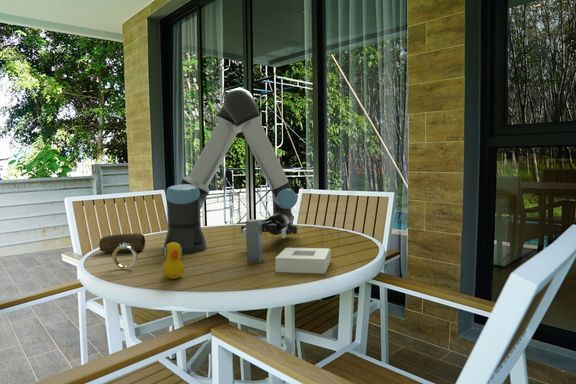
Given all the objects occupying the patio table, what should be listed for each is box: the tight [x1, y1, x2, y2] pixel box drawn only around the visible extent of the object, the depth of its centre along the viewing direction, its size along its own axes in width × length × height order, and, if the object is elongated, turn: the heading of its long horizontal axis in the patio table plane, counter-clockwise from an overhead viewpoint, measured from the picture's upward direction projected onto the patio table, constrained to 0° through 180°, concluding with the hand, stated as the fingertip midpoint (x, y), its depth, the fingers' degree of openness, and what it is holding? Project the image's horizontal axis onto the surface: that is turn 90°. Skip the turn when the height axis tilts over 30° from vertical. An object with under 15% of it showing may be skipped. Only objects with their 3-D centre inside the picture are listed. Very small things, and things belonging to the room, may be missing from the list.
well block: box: [274, 247, 331, 274], centre depth 121 cm, size 14×14×4 cm
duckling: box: [162, 242, 185, 280], centre depth 112 cm, size 11×5×10 cm, turn 22°
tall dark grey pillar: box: [245, 219, 264, 264], centre depth 129 cm, size 4×4×13 cm
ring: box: [111, 243, 138, 270], centre depth 122 cm, size 7×3×8 cm, turn 83°
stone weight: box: [98, 233, 146, 254], centre depth 148 cm, size 15×7×7 cm, turn 98°
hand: (262, 233), depth 137 cm, fingers open, 13 cm apart
